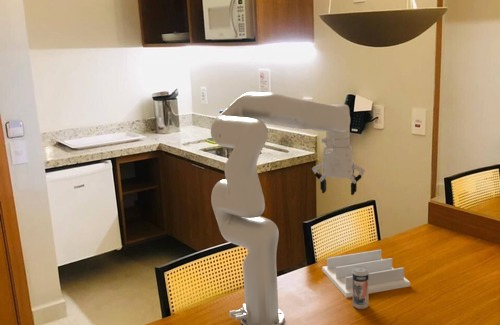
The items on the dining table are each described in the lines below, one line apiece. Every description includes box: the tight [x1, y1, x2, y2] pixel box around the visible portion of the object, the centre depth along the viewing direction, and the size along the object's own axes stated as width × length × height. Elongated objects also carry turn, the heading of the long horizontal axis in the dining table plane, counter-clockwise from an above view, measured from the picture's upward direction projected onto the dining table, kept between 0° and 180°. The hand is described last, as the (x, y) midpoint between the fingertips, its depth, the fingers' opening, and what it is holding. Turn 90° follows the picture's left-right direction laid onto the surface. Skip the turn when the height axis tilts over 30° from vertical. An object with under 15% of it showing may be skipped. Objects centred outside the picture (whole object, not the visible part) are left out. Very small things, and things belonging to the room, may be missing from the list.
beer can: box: [352, 266, 370, 310], centre depth 155 cm, size 5×5×12 cm
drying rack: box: [321, 249, 411, 299], centre depth 173 cm, size 22×20×6 cm
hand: (338, 192), depth 173 cm, fingers open, 9 cm apart
